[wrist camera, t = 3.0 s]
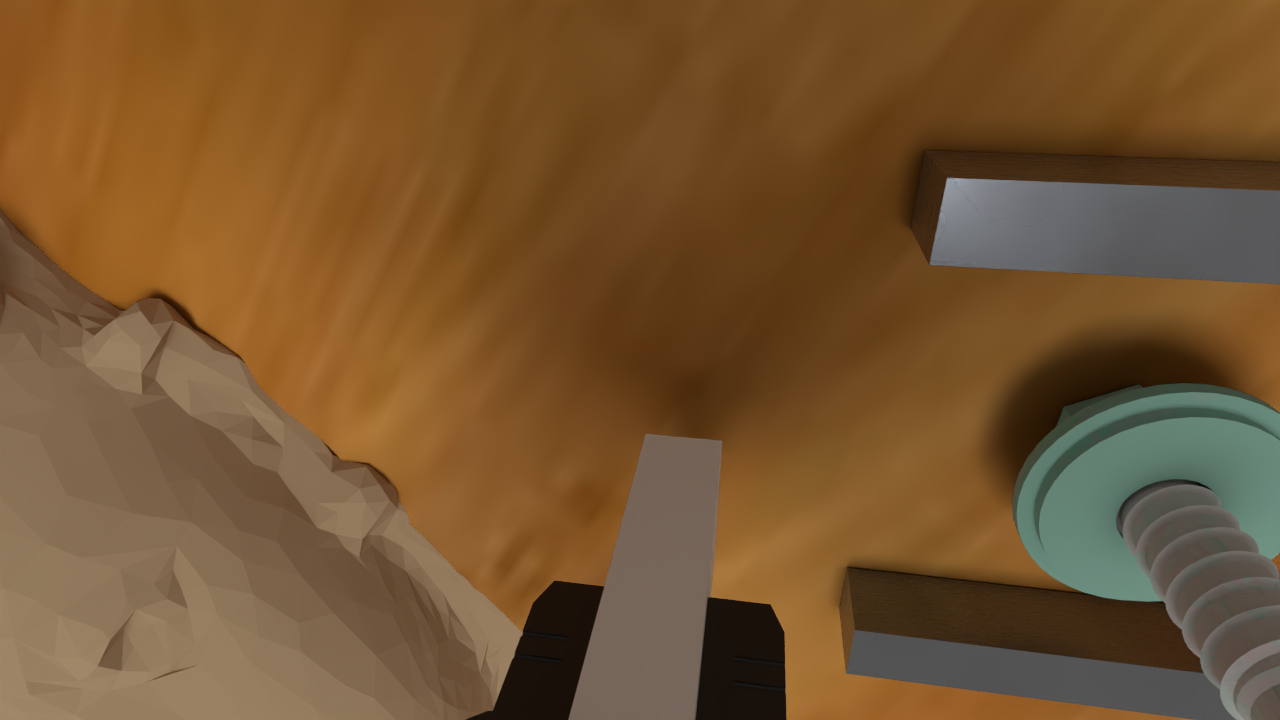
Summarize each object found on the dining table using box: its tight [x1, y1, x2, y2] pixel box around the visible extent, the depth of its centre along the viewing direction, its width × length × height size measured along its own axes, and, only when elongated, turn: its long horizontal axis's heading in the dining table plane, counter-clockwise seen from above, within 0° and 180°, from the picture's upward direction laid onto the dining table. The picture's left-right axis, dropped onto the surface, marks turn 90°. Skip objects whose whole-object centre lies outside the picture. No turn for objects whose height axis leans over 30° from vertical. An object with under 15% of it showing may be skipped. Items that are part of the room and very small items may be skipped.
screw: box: [1012, 383, 1280, 720], centre depth 12 cm, size 9×5×5 cm
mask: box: [0, 209, 523, 720], centre depth 19 cm, size 15×7×30 cm
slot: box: [839, 150, 1280, 720], centre depth 15 cm, size 12×12×2 cm
